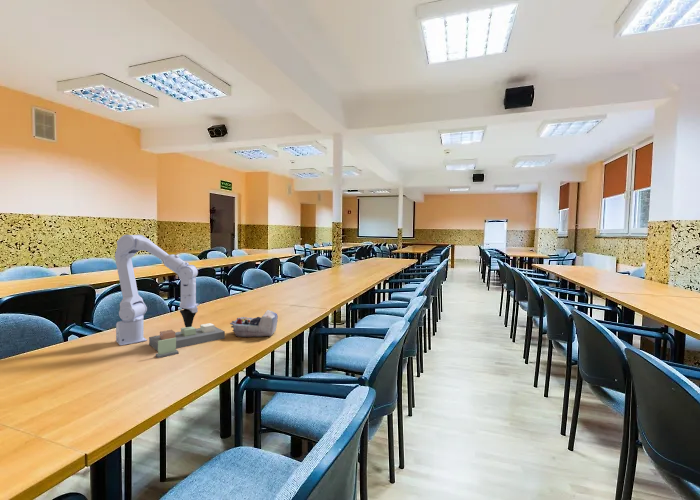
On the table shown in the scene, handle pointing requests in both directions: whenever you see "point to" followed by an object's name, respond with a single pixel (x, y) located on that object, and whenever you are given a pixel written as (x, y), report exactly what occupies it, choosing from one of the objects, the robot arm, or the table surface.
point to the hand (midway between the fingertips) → (188, 326)
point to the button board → (190, 338)
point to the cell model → (255, 325)
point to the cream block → (207, 328)
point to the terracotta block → (167, 334)
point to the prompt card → (166, 348)
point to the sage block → (188, 331)
